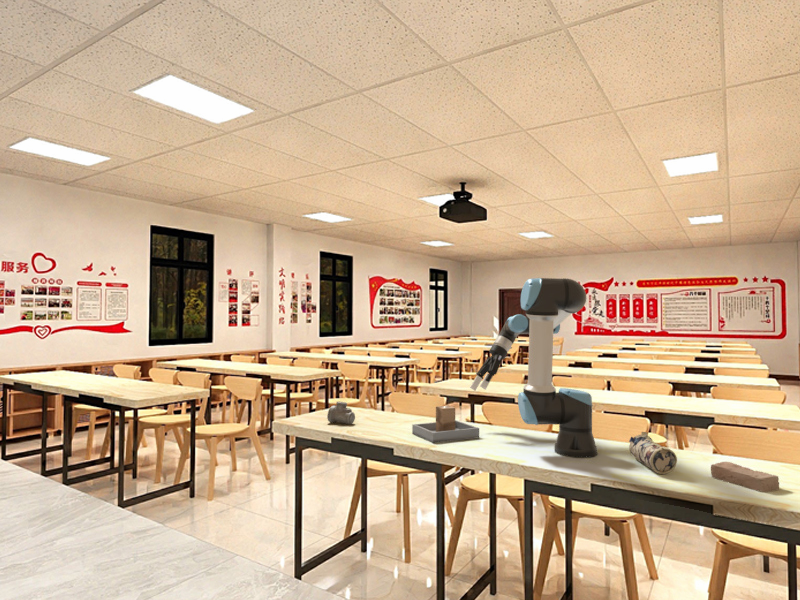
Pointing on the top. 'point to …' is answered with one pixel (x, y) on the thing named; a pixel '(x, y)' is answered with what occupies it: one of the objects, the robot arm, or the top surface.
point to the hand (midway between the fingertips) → (477, 388)
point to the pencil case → (652, 454)
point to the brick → (745, 477)
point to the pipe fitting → (341, 413)
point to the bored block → (445, 418)
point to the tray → (445, 432)
